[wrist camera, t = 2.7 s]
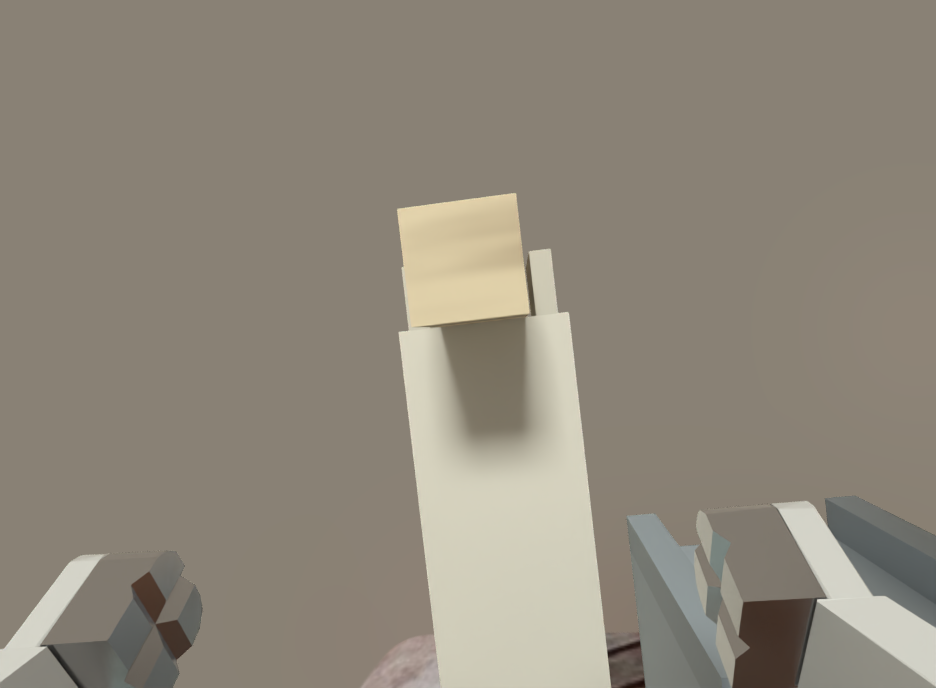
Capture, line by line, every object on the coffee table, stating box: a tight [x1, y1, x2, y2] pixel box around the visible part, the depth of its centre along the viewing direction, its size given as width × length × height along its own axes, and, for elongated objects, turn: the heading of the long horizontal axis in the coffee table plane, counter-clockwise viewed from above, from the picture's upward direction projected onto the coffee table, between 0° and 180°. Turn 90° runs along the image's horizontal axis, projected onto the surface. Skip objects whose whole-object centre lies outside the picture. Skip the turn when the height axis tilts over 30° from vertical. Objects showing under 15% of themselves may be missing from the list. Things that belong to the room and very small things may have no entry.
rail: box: [397, 193, 529, 327], centre depth 30 cm, size 20×4×4 cm, turn 176°
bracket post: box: [399, 249, 611, 688], centre depth 32 cm, size 8×8×29 cm
